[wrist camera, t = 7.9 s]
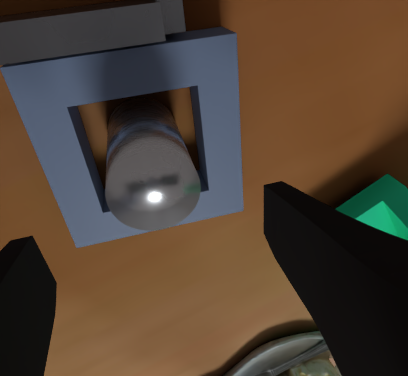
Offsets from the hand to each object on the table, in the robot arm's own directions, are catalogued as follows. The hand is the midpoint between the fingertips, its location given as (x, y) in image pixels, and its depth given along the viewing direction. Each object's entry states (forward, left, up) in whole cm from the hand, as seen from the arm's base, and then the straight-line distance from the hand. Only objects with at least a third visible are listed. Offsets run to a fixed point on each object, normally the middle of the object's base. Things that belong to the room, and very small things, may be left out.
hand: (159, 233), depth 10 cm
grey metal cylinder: (0, 0, -8) cm, 8 cm away
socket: (0, 0, -8) cm, 8 cm away
